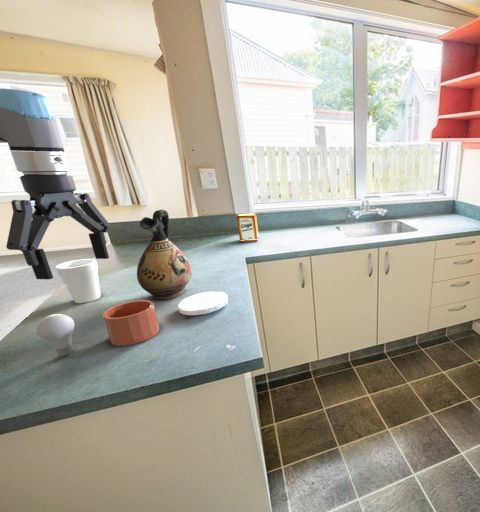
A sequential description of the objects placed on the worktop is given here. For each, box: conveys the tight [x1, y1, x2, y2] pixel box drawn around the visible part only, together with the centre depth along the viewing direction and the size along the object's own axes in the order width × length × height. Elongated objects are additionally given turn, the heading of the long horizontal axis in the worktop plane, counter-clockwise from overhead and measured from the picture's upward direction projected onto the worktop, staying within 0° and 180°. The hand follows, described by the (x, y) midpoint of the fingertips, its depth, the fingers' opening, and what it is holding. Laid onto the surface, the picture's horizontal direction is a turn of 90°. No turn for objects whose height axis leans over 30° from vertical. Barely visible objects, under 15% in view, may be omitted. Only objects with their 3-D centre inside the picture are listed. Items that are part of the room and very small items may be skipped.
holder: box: [102, 299, 160, 347], centre depth 80 cm, size 10×10×8 cm
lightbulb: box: [35, 313, 75, 357], centre depth 71 cm, size 6×6×11 cm
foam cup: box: [55, 258, 101, 304], centre depth 100 cm, size 10×9×13 cm
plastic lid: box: [177, 291, 229, 316], centre depth 97 cm, size 14×14×2 cm
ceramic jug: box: [136, 209, 193, 301], centre depth 102 cm, size 17×15×30 cm
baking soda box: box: [236, 213, 260, 243], centre depth 175 cm, size 10×6×16 cm
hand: (76, 267), depth 69 cm, fingers open, 13 cm apart
